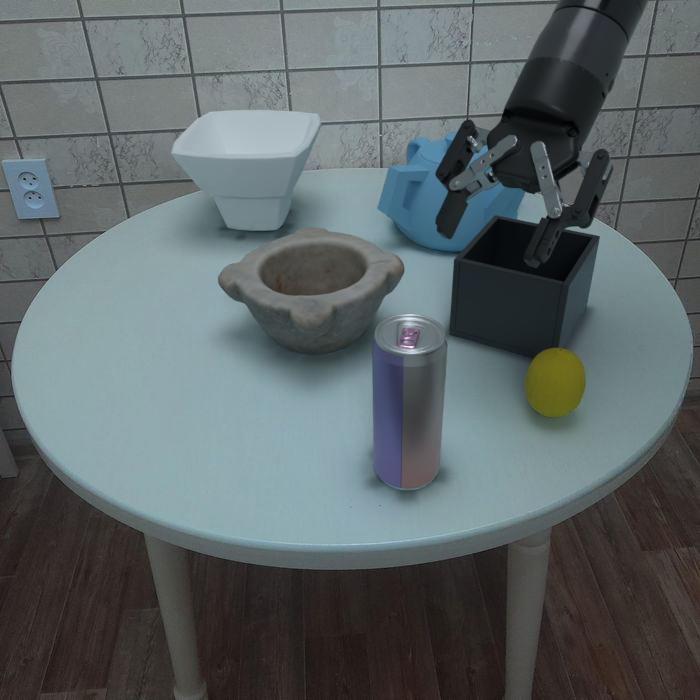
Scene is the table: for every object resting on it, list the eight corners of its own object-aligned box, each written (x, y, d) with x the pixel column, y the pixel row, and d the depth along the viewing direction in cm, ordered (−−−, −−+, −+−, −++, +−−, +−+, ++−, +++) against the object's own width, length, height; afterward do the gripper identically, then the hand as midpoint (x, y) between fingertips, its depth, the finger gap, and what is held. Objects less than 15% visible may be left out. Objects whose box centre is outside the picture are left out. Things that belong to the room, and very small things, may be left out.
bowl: (331, 198, 115) (327, 110, 106) (307, 256, 99) (301, 158, 91) (217, 194, 117) (205, 108, 109) (177, 250, 102) (159, 154, 93)
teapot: (376, 250, 100) (376, 153, 92) (401, 195, 115) (403, 108, 107) (517, 264, 96) (530, 164, 88) (524, 205, 111) (536, 115, 103)
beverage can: (366, 488, 64) (364, 349, 55) (380, 442, 68) (380, 308, 60) (434, 498, 62) (442, 359, 54) (443, 452, 67) (452, 316, 58)
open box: (586, 309, 86) (600, 235, 81) (555, 364, 78) (569, 286, 72) (487, 285, 91) (494, 214, 86) (448, 334, 83) (453, 259, 77)
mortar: (214, 335, 84) (202, 266, 79) (320, 280, 93) (316, 215, 88) (312, 398, 74) (306, 324, 69) (419, 330, 84) (421, 260, 78)
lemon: (509, 415, 71) (517, 348, 66) (543, 390, 74) (553, 325, 69) (556, 443, 68) (568, 375, 63) (589, 416, 71) (604, 349, 66)
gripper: (480, 42, 63) (399, 210, 62) (641, 66, 55) (551, 257, 55) (505, 90, 69) (432, 242, 69) (652, 118, 61) (571, 289, 61)
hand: (485, 249), depth 62 cm, fingers open, 8 cm apart
